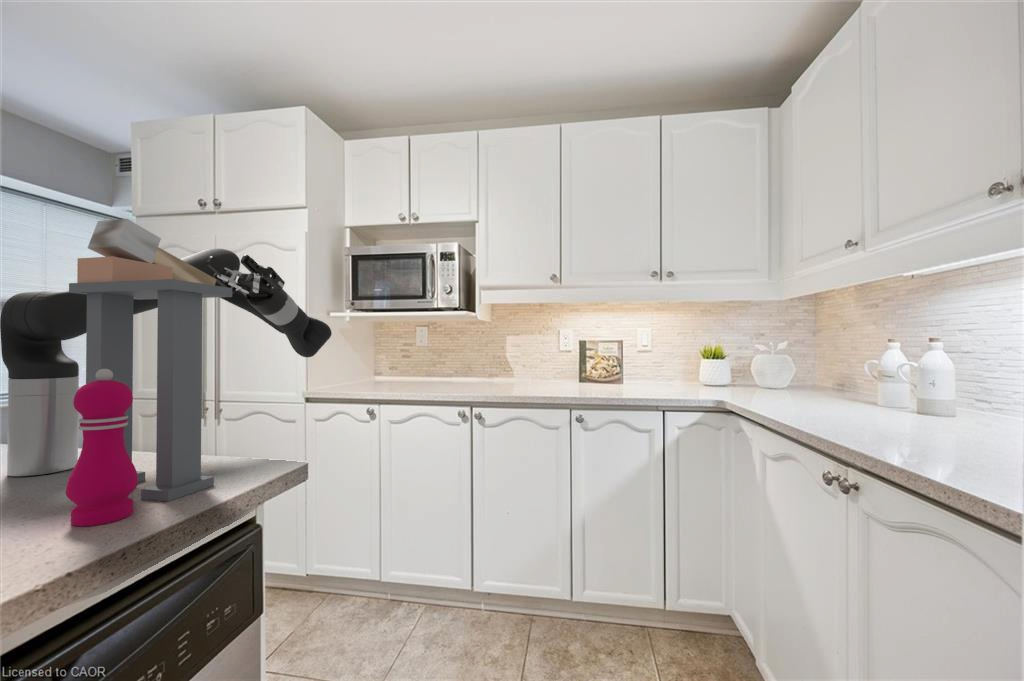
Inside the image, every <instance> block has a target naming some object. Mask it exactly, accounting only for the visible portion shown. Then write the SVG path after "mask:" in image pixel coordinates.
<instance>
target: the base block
mask: <svg viewBox="0 0 1024 681" xmlns="http://www.w3.org/2000/svg"><path fill="white" fill-rule="evenodd" d="M76 265H77V269H76V270H77V275H76V276H77V277H76V278H77V279H76V281H77V282H76V283H88V282H113V281H138V280H163V279H172V267H168V266H163V265H157V264H152V263H146V262H141V261H135V260H129V259H124V258H118V257H113V256H112V257H105V256H99V257H98V256H94V257H81V258H77V264H76Z"/></svg>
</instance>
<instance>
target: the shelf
mask: <svg viewBox="0 0 1024 681" xmlns="http://www.w3.org/2000/svg"><path fill="white" fill-rule="evenodd" d="M68 291H69V293H77V294H87V328H86V333H85V336H86V338H85V340H86V341H85V343H86V345H85V347H86V350H85V352H86V355H85V384H88V383H90V382H94V381H99V380H97V379H96V373H97V371H99V370H100V369H109V370H111V371H112V373H113V377H112V379H111V380H113V381H118V382H121V383H124V384H125V385H127V386H128V387H129V388H130V389H131V391H132V395H133V388H134V386H133V381H134V380H133V379H134V376H133V375H134V371H133V370H134V315H133V299H137V300H144V299H158V308H157V333H156V334H157V336H156V337H157V339H156V342H157V343H156V344H157V345H156V355H157V356H156V357H157V358H156V360H157V361H156V441H155V442H156V443H155V444H156V446H155V447H156V448H155V449H156V456H155V459H156V460H155V461H156V464H155V467H156V468H155V469H156V470H155V471H156V472H155V474H156V475H155V478H156V480H155V484H154V485H151V486H147V487H144V488H141V489H140V500H144V501H145V500H147V501H160V502H171V501H173V500H176V499H179V498H181V497H186V496H188V495H190V494H191V495H192V494H193V493H197V492H199V491H202V490H206V489H208V488H210V487H214V486H215V483H214V482H215V477H214V476H213V475H211V476H210V475H202V395H203V394H202V390H203V389H202V383H203V382H202V381H203V380H202V376H203V373H202V372H203V370H202V369H203V360H202V359H203V298H204V299H209V298H210V299H211V298H220V297H232V288H227V287H221V286H214V285H208V284H201V283H195V282H188V281H182V280H175V279H163V280H138V281H113V282H88V283H77V282H71V283H68ZM133 396H134V395H133ZM124 415H127V416H128V418H127V422H128V425H126V426H124V435H123V436H124V445H125V448H126V451H127V453H128V456H129V458H130V459H131V461H132V462H133V404H132V405H131V406H130V408H129V409H128V410H127V411H126V412H125V414H124ZM136 472H137V477H138V483H141V482H145V481H146V471H143V470H142V471H139V470H136Z"/></svg>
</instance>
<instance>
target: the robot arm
mask: <svg viewBox="0 0 1024 681" xmlns="http://www.w3.org/2000/svg"><path fill="white" fill-rule="evenodd" d="M180 259H181V260H182V261H184V262H186V263H188V264H190V265H191V266H193V267H195V268H197V269H199V270H201V271H202V272H204V273H206V274H208V275H210V276H211V277H213V278H215V279H216V283H215V286H221V287H227V288H232V297H219V299H222V300H223V301H226V302H228V303H229V304H231V305H234V306H235V307H238V308H240V309H242V310H244V311H247V312H248V313H250V314H252V315H254V316H256V318H259V319H260V320H261V321H263V322H264V323H266V324H267V325H269V326H270V327H272V328H273V329H274V330H276V331H277V332H278V333H281V334H283V335H285V337H286V338H287V340H288V343H289V344H290V345H291V347H292V349H293V351H294V352H296V353H297V355H298V356H301V357H303V358H311V357H314V356H315V355H317V353H318V352H319V351H320V349H322V347H323V346H324V345H325V344H326V343H327V342H328V341H329V340H330V339H331V337H332V334H333V333H332V329H331V327H330V326H329V325H328V324H327V323H326V322H324V321H323V320H320V319H317V318H314V317H310V316H308V315H307V313H306V312H305V311H304V310H303V309H302V308H301V307H300V306H299V305H298V304H297V303H296V302H295V300H294V299H293V298H292V297H291V296H290V294H288V293H287V292H286V291H285V289H283V288H284V287H285V283H286V282H285V280H283V279H282V277H281V276H280V275H279V274H278V272H276V271H275V269H274V268H273V267H271V266H267V267H264V266H263V265H261V264H258V263H257V261H255V260H254V258H252V257H251V256H250V255H249V254H244V255H242V258H241V260H240V258H239V256H238V255H237V254H236V253H235V252H233V251H231V250H229V249H224V248H217V247H216V248H207V249H203V250H201V251H198V252H196V253H192V254H190V255H188V256H184V257H181V258H180ZM241 265H242V266H243V267H245V269H247V270H248V271H249V273H245V272H244V273H243V272H241V271H240V269H241ZM237 277H238V278H237ZM236 279H237V280H236ZM155 309H158V299H144V300H137V299H133V316H134V315H138V314H141V313H145V312H148V311H151V310H155ZM86 328H87V294H77V293H69V290H51V291H48V290H47V291H46V290H43V291H25V292H20V293H16V294H13V295H12V296H11V297H9V298H8V299H7V300H6V302H4V305H3V306H2V309H1V311H0V347H1V348H0V349H1V359H2V362H3V364H4V365H5V367H6V369H7V372H8V373H7V374H8V377H7V378H8V381H7V385H8V386H7V389H8V390H7V398H8V399H7V453H6V454H7V455H6V459H7V461H6V462H7V463H6V474H7V476H8V477H30V476H39V475H46V474H53V473H59V472H63V471H67V470H71V469H74V467H75V465H76V463H77V461H78V459H79V452H78V451H79V428H78V427H79V421H78V420H79V412H78V411H77V410H76V409H75V408H74V404H73V401H74V396H75V394H76V392H77V391H78V389H79V388H80V387H79V382H80V381H79V379H80V378H79V377H80V372H79V371H80V369H79V364H78V361H76V360H74V359H72V358H70V357H68V356H67V355H66V354H65V353H64V351H63V347H62V342H63V341H67V340H71V339H75V338H77V337H80V336H82V335H86Z"/></svg>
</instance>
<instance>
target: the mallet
mask: <svg viewBox="0 0 1024 681" xmlns="http://www.w3.org/2000/svg"><path fill="white" fill-rule="evenodd" d="M161 240H162V238H161V237H159V236H158V235H156V234H154V233H153V232H151V231H149V230H147V229H146V228H144V227H143V226H140V225H139V224H137V223H135V222H134V221H131V220H130V219H129V218H123V219H110V220H109V219H108V220H106V219H105V220H97V222H96V225H95V228H94V230H93V232H92V235H91V237H90V240H89V243H88V244H87V245H88V246H87V249H88V250H90V251H93V252H95V253H97V254H99V255H101V256H102V257H112V256H113V257H118V258H124V259H129V260H135V261H141V262H146V263H152V264H157V265H163V266H168V267H172V279H175V280H182V281H188V282H195V283H201V284H208V285H214V286H215V283H216V279H215V278H213V277H211V276H210V275H208V274H206V273H204V272H202V271H201V270H199V269H197V268H195V267H193V266H191V265H190V264H188V263H186V262H184V261H182V260H181V258H179V257H177V256H176V255H173V254H172V253H169V252H168V251H167V250H165V249H162V248H160V247H159V245H160V242H161Z"/></svg>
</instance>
